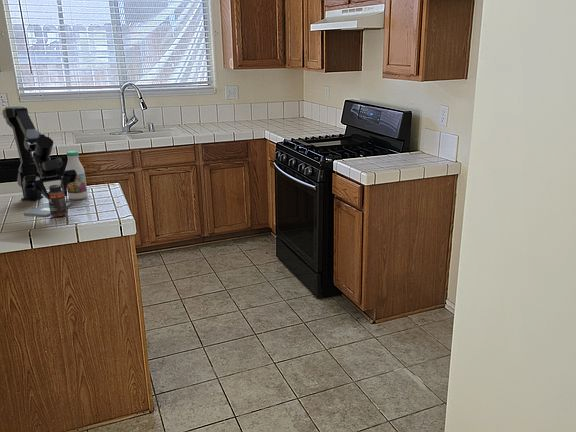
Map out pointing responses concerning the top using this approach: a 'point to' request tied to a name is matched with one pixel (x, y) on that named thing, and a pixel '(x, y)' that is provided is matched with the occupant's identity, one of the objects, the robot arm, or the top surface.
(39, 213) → the label panel
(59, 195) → the supplement bottle
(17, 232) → the top surface
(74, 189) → the milk bottle
